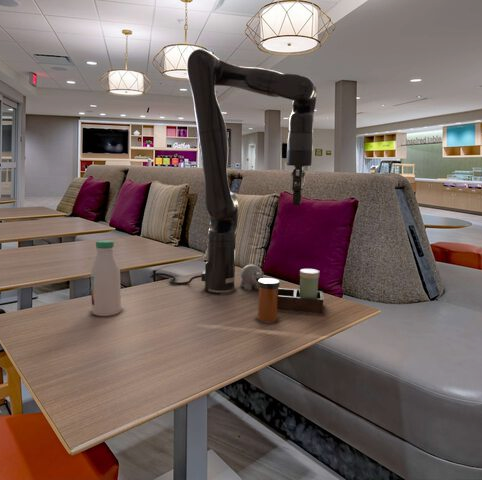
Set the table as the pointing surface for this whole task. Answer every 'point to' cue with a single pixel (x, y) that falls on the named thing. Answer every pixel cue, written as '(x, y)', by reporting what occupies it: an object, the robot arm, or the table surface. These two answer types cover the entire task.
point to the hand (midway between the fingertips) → (297, 204)
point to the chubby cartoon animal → (251, 277)
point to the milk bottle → (105, 281)
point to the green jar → (309, 283)
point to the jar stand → (299, 301)
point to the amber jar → (268, 299)
